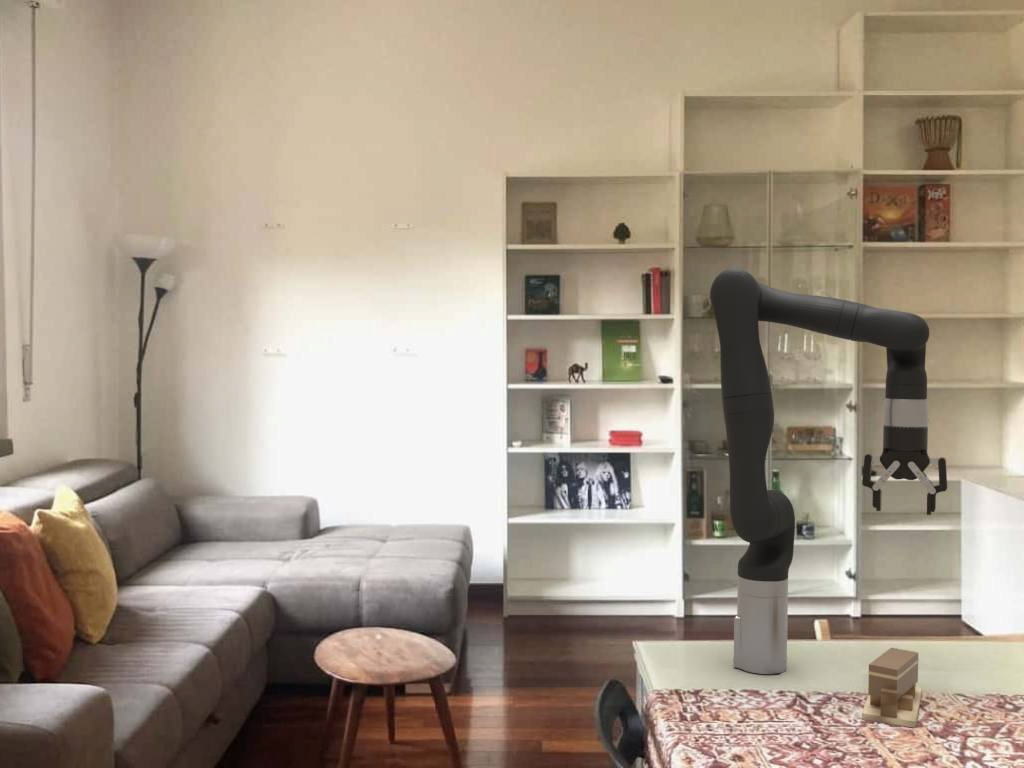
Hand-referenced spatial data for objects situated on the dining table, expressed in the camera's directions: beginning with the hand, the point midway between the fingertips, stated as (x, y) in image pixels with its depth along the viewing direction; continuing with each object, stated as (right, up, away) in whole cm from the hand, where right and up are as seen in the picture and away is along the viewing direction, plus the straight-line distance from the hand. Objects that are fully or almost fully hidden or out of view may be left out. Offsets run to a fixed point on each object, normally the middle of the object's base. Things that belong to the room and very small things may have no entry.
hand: (903, 512), depth 177 cm
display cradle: (-8, -30, -15) cm, 35 cm away
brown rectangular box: (-8, -27, -15) cm, 32 cm away
